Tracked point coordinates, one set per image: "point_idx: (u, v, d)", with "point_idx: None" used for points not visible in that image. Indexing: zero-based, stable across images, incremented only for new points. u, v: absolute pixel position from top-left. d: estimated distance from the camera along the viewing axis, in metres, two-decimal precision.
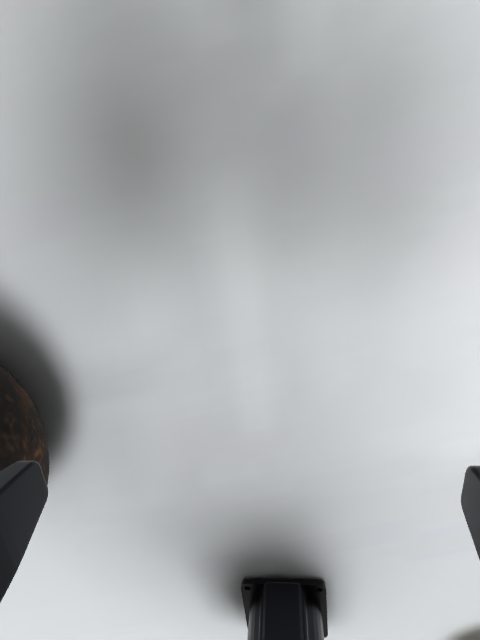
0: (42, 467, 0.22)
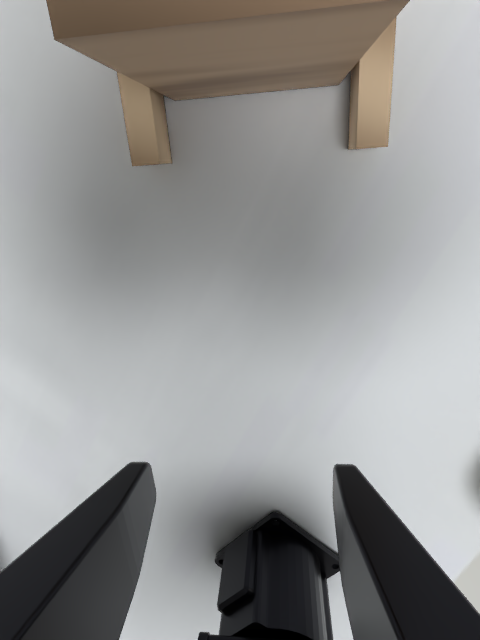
0: None
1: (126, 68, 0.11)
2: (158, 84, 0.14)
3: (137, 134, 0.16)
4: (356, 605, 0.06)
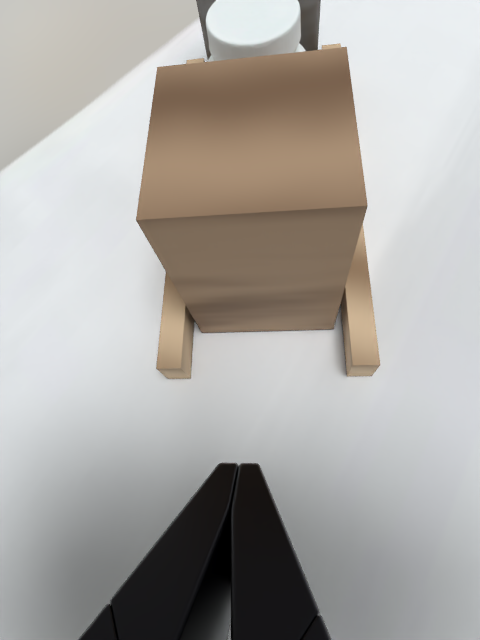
0: None
1: (174, 269, 0.15)
2: (193, 300, 0.18)
3: (167, 345, 0.19)
4: None
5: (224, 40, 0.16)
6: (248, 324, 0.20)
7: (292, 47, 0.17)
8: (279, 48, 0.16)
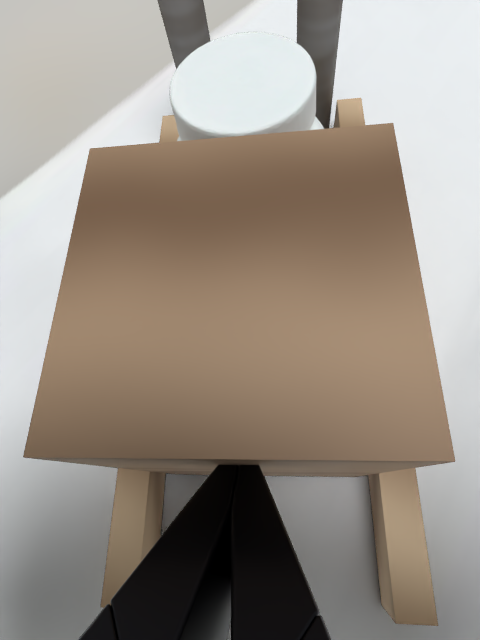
0: None
1: (116, 466, 0.10)
2: (156, 470, 0.12)
3: (118, 565, 0.13)
4: None
5: (195, 125, 0.10)
6: None
7: None
8: None
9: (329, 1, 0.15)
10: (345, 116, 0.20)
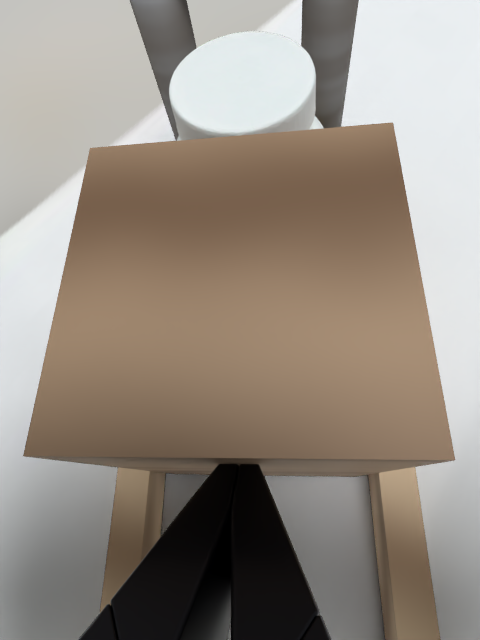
0: None
1: (116, 465, 0.10)
2: (156, 469, 0.12)
3: None
4: None
5: (195, 124, 0.10)
6: None
7: None
8: None
9: (336, 61, 0.14)
10: None
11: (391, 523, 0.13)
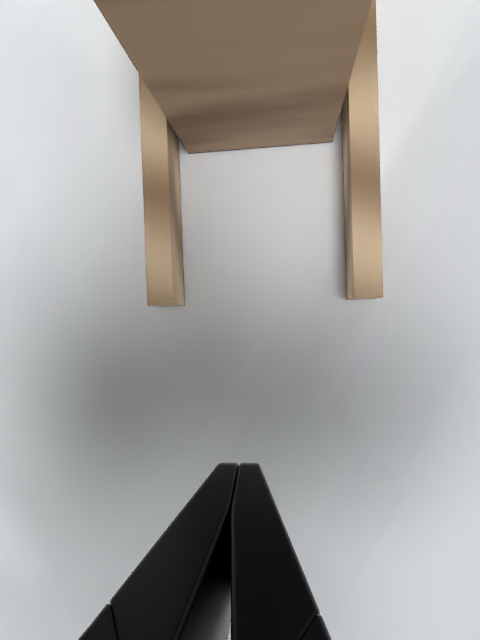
0: None
1: (147, 68, 0.13)
2: (174, 111, 0.16)
3: (156, 279, 0.18)
4: None
5: None
6: (238, 140, 0.18)
7: None
8: None
9: None
10: None
11: (355, 154, 0.17)
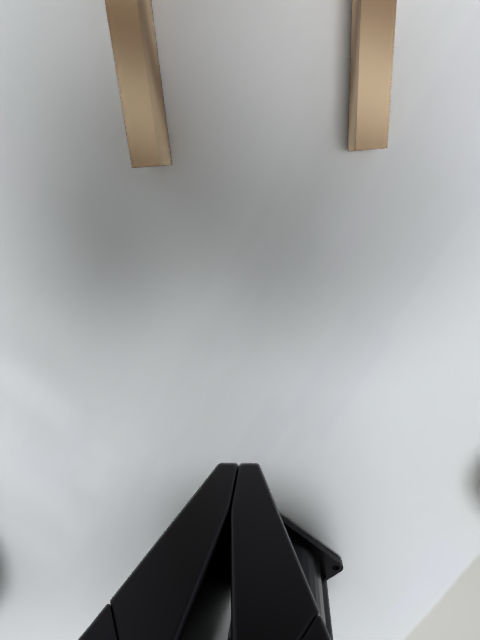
0: None
1: None
2: None
3: (137, 136, 0.16)
4: None
5: None
6: None
7: None
8: None
9: None
10: None
11: None
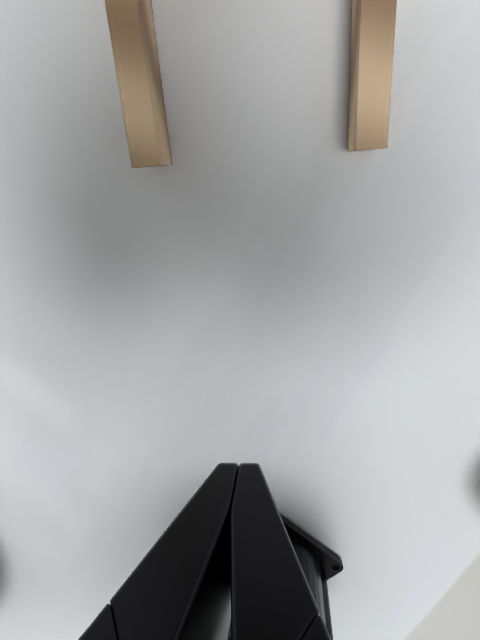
0: None
1: None
2: None
3: (137, 136, 0.16)
4: None
5: None
6: None
7: None
8: None
9: None
10: None
11: None
